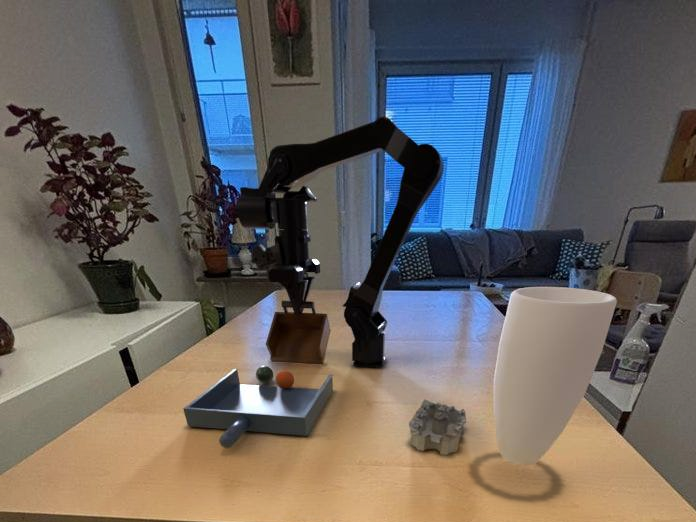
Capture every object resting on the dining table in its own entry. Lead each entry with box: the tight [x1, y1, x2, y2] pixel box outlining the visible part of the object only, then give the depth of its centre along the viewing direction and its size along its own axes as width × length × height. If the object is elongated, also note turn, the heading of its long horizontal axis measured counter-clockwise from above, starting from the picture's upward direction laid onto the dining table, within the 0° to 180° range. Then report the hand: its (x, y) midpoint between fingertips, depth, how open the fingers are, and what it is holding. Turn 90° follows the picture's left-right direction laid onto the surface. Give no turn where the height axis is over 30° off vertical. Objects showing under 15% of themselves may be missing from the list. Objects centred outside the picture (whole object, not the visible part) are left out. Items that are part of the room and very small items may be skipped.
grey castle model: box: [408, 399, 467, 456], centre depth 59 cm, size 11×8×4 cm
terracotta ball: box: [275, 369, 295, 389], centre depth 74 cm, size 3×3×3 cm
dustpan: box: [183, 368, 334, 449], centre depth 64 cm, size 26×19×3 cm
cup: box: [493, 286, 618, 466], centre depth 45 cm, size 10×10×22 cm
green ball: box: [255, 365, 275, 385], centre depth 77 cm, size 3×3×3 cm
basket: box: [265, 299, 331, 366], centre depth 86 cm, size 12×10×8 cm
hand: (298, 314), depth 86 cm, fingers closed
